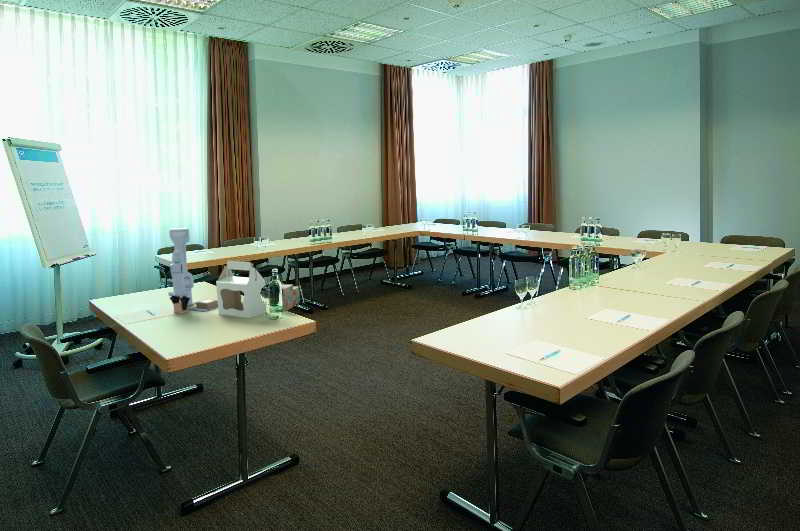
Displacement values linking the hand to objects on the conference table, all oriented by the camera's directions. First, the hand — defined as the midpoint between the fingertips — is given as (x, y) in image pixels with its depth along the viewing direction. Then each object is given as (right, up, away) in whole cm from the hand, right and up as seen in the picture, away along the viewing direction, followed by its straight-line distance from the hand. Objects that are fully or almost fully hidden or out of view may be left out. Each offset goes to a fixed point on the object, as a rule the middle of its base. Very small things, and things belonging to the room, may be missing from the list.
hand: (181, 309), depth 291 cm
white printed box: (+56, +1, +8) cm, 57 cm away
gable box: (+35, -2, -6) cm, 36 cm away
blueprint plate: (+11, 0, +9) cm, 14 cm away
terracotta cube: (0, -1, 0) cm, 2 cm away
